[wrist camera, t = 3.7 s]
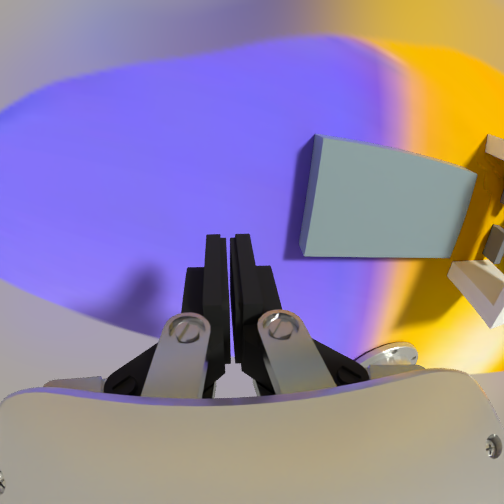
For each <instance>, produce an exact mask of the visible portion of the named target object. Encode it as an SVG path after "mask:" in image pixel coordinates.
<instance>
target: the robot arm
mask: <svg viewBox="0 0 504 504" xmlns="http://www.w3.org/2000/svg"><path fill="white" fill-rule="evenodd" d="M230 297H231V312H232V326H233V339H234V352H235V363H241V367H242V371H244V373H246V374H247V375H249V376H250V377H251V378H253V384H254V388H255V391H256V394H257V397H242V398H215V399H214V397H215V391H216V380H218V379H219V378H220V377H221V376H222V375H223V374H225V364H230V363H231V355H230V308H229V289H228V271H227V252H226V238H220V234H212V235H207V236H206V250H205V266H204V267H188V268H187V272H186V279H185V287H184V294H183V303H182V311H181V314H177V315H175V316H173V317H171V318H170V319H169V320H168V321H167V322H166V324H165V326H164V328H163V331H162V334H161V336H160V339H159V342H158V343H157V344H155V345H154V346H152V347H151V348H149V349H148V350H146V351H145V352H143V353H142V354H141V355H139V356H137V357H136V358H134V359H133V360H131V361H130V362H129V363H127V364H126V365H124V366H123V367H121V368H120V369H118V370H117V371H115V372H114V373H112V374H111V375H110V376H109V377H108V378H107V379H102V378H101V376H97V377H87V378H75V379H60V380H52V381H49V382H48V383H46V384H45V385H44V386H43V387H36V388H29V389H24V390H20V391H17V392H14V393H12V394H10V395H8V396H7V397H5V398H4V399H3V401H2V402H1V403H0V504H504V428H503V426H502V424H501V422H500V420H499V418H498V416H497V414H496V412H495V410H494V408H493V406H492V404H491V402H490V400H489V399H488V397H487V396H486V394H485V392H484V391H483V389H482V388H481V386H480V385H479V384H478V383H477V381H476V380H475V379H474V378H473V377H471V375H469V374H467V373H465V372H462V371H459V370H454V369H445V368H431V369H425V368H424V367H422V366H420V365H415V364H416V362H417V359H418V353H417V350H416V349H415V347H414V345H412V344H410V343H407V342H396V343H391V344H387V345H384V346H381V347H379V348H376V349H374V350H372V351H370V352H368V353H366V354H365V355H363V356H361V357H360V358H358V359H357V360H356V361H354V360H352V359H350V358H348V357H346V356H344V355H342V354H340V353H338V352H337V351H335V350H333V349H331V348H329V347H327V346H325V345H323V344H322V343H320V342H318V341H316V340H314V339H312V338H311V336H310V334H309V332H308V330H307V329H306V327H305V325H304V323H303V321H302V320H301V319H300V317H299V316H297V315H296V314H294V313H292V312H290V311H287V310H282V307H281V303H280V299H279V295H278V292H277V288H276V284H275V280H274V277H273V273H272V269H271V266H256V265H255V260H254V255H253V250H252V244H251V239H250V234H235V238H230Z"/></svg>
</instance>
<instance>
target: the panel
mask: <svg viewBox="0 0 504 504" xmlns="http://www.w3.org/2000/svg"><path fill="white" fill-rule="evenodd" d="M476 178H477V174H476V173H474V172H472V171H471V170H469V169H467V168H465V167H462V166H459V165H455V164H452V163H449V162H446V161H442V160H439V159H436V158H432V157H428V156H425V155H421V154H417V153H413V152H409V151H405V150H401V149H397V148H392V147H388V146H383V145H378V144H374V143H368V142H363V141H358V140H352V139H346V138H340V137H334V136H327V135H320V134H315V138H314V146H313V153H312V161H311V168H310V175H309V182H308V189H307V196H306V202H305V209H304V215H303V221H302V227H301V233H300V239H299V246H300V248H301V250H302V253H303V255H304V256H312V257H398V258H450V256H451V254H452V251H453V249H454V246H455V244H456V241H457V238H458V236H459V233H460V230H461V227H462V225H463V222H464V219H465V216H466V213H467V210H468V206H469V203H470V200H471V197H472V193H473V190H474V186H475V182H476Z"/></svg>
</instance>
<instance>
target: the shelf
mask: <svg viewBox="0 0 504 504" xmlns="http://www.w3.org/2000/svg"><path fill="white" fill-rule="evenodd" d="M485 152H486V153H489V154H491V155H493V156H495V157H497V158H500V159H502V160H504V140H503V139H501V138H498V137H496V136H493V135H490V134H488V137H487V143H486V149H485ZM500 202H501V203H502V204H504V190H503V194H502V198H501V201H500ZM483 254H484V255H485V256H486V257H487V258H488V259H489V260H490V261H491V262H492V263H493V264H499V263H500V261H501V258H502V256H503V254H504V229H503V228H502V227H500V226H499V225H493V226H492V229H491V232H490V235H489V238H488V240H487V243H486V246H485V248H484V251H483ZM489 260H474V261H455V262H452V265H451V267H450V270H449V272H448V274H447V277H448V278H449V279H450V280H451V281H452V282H453V284H454V285H455V286H456V287H457V288H458V289H459V291H460V292H461V293H462V294H463V295H464V296H465V298H466V299H467V300H468V301H469V302H470V304H471V305H472V306H473V307H474V309H475V310H476V311H477V312H478V314H479V315H480V316H481V317H482V319H483V320H484V321H485V323H486V324H487V325H488V327H489V328H490V329H492V328H494V327H497V326H500V325H502V324H504V274H503V273H502V272H501V271H500V270H499V269H498V268H496V267H495V266H494V265H493V264H492V263H491V262H490V261H489Z"/></svg>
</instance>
